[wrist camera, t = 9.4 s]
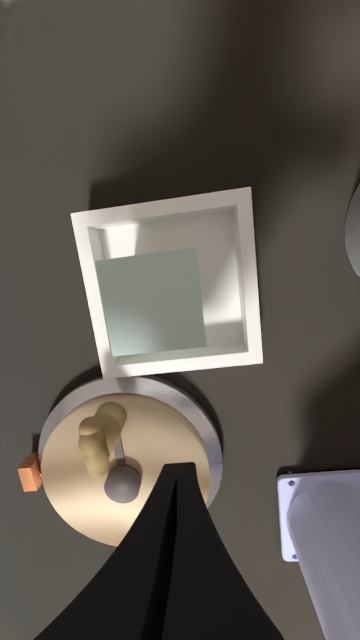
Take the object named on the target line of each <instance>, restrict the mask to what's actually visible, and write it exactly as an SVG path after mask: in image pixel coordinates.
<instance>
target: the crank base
mask: <svg viewBox="0 0 360 640" xmlns="http://www.w3.org/2000/svg"><path fill="white" fill-rule="evenodd" d="M111 393H137V394H141V395H146V396H150V397H153V398H155V399H158V400H160V401H163V402H165V403H167V404H169V405H170V406H172V407H173V408H175V409H176V410H178V411H179V412H180V413H182V414H183V415H184V416H185V417H186V418H187V419H188V420H189V421H190V422H191V423H192V424H193V425H194V427H195V428H196V430H197V431H198V432H199V434H200V436H201V438H202V440H203V442H204V444H205V447H206V450H207V454H208V459H209V469H210V490H209V495H208V499H207V502H206V507H207V508H208V507H209V506H210V504H211V503H212V501H213V500H214V498H215V496H216V494H217V491H218V489H219V486H220V482H221V478H222V470H223V463H222V452H221V446H220V440H219V436H218V433H217V431H216V428H215V426H214V424H213V422H212V420H211V418H210V416H209V415H208V414H207V412H206V411H205V409H204V408H203V407H202V406H201V405H200V404H199V402H198V401H197V400H196V399H195V398H193V397H192V396H191V395H190V394H189V393H187V392H186V391H184V390H183V389H181V388H180V387H178V386H177V385H175V384H173V383H171V382H169V381H167V380H164V379H161V378H158V377H155V376H152V375H139V376H128V377H118V378H108V379H103V375H102V376H99V377H96V378H93V379H91V380H89V381H86V382H84V383H82V384H81V385H79V386H78V387H76V388H75V389H73V390H72V391H71V392H70V393H69V394H67V395H66V396H65V397H64V398H63V399H62V400H61V401H60V402H59V403H58V405H57V406H56V407H55V408H54V409H53V410H52V412H51V413H50V415H49V417H48V418H47V420H46V422H45V424H44V427H43V429H42V432H41V436H40V440H39V449H38V452H32V453H31V454H30V455H29V456H28V457H27V458H26V460H25V461H24V462H23V463H22V464H21V465H20V467H19V468H18V472H19V475H20V479H21V482H22V486H23V489H24V492H26V491H37V490H38V488H39V487H40V485H41V484H42V482H43V481H42V476H41V461H42V455H43V451H44V447H45V445H46V443H47V441H48V438H49V437H50V435H51V434H52V432H53V431H54V429H55V428H56V427H57V426H58V425H59V423H60V422H61V421H62V420H63V419H64V418H65V417H66V415H67V414H68V413H69V412H70V411H72V410H73V409H74V408H75V407H77V406H78V405H80V404H81V403H83V402H85V401H87V400H89V399H92V398H94V397H97V396H101V395H104V394H111Z"/></svg>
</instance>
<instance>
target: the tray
mask: <svg viewBox="0 0 360 640" xmlns="http://www.w3.org/2000/svg"><path fill="white" fill-rule="evenodd" d="M71 218H72V223H73V228H74V233H75V238H76V243H77V248H78V254H79V259H80V264H81V269H82V274H83V279H84V284H85V289H86V294H87V299H88V304H89V309H90V314H91V319H92V324H93V329H94V334H95V339H96V344H97V349H98V354H99V359H100V364H101V370H102V375H103V379H108V378H118V377H128V376H139V375H149V374H159V373H169V372H179V371H189V370H199V369H209V368H219V367H229V366H239V365H249V364H259V363H263V356H262V342H261V327H260V312H259V298H258V283H257V268H256V254H255V239H254V224H253V210H252V195H251V187H245V188H238V189H232V190H225V191H218V192H212V193H205V194H198V195H192V196H185V197H178V198H171V199H165V200H158V201H151V202H145V203H138V204H131V205H124V206H118V207H111V208H104V209H98V210H91V211H84V212H78V213H71ZM193 247H196V256H197V265H198V273H199V282H200V291H201V300H202V308H203V317H204V326H205V335H206V344H207V346H206V347H197V348H188V349H178V350H169V351H160V352H151V353H141V354H132V355H123V356H114V357H113V355H112V350H111V345H110V339H109V334H108V329H107V323H106V318H105V313H104V308H103V302H102V297H101V292H100V287H99V281H98V276H97V271H96V265H95V261H97V260H105V259H112V258H119V257H127V256H134V255H141V254H149V253H156V252H163V251H171V250H178V249H185V248H193Z"/></svg>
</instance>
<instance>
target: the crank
mask: <svg viewBox="0 0 360 640" xmlns="http://www.w3.org/2000/svg"><path fill="white" fill-rule="evenodd" d="M183 462H194V463H195V464H196V470H197V478H198V483H199V487H200V490H201V493H202V496H203V499H204V501H205V504H206V502H207V499H208V495H209V490H210V469H209V459H208V454H207V450H206V447H205V444H204V442H203V440H202V438H201V436H200V434H199V432H198V431H197V430H196V428H195V427H194V425H193V424H192V423H191V422H190V421H189V420H188V419H187V418H186V417H185V416H184V415H183V414H182V413H180V412H179V411H178V410H176V409H175V408H173V407H172V406H170V405H169V404H167V403H165V402H163V401H160V400H158V399H155V398H153V397H150V396H146V395H141V394H137V393H111V394H104V395H101V396H97V397H94V398H92V399H89V400H87V401H85V402H83V403H81V404H80V405H78V406H77V407H75V408H74V409H73V410H72V411H70V412H69V413H68V414H67V415H66V417H65V418H64V419H63V420H62V421H61V422H60V423H59V425H58V426H57V427H56V428H55V429H54V431H53V432H52V434H51V435H50V437H49V438H48V441H47V443H46V445H45V447H44V451H43V455H42V461H41V476H42V481H43V486H44V489H45V491H46V494H47V496H48V498H49V500H50V502H51V504H52V505H53V507H54V508H55V510H56V511H57V512H58V514H59V515H60V516H61V517H62V518H63V519H64V520H65V521H66V522H67V523H68V524H69V525H70V526H72V527H73V528H74V529H76V530H77V531H79V532H80V533H82V534H84V535H85V536H87V537H89V538H92V539H94V540H96V541H99V542H102V543H105V544H108V545H113V546H118V545H119V544H120V542H121V541H122V540H123V538H124V537H125V535H126V534H127V532H128V531H129V529H130V528H131V526H132V524H133V523H134V521H135V519H136V518H137V516H138V514H139V513H140V511H141V509H142V508H143V506H144V504H145V502H146V500H147V498H148V497H149V495H150V493H151V491H152V489H153V487H154V485H155V483H156V481H157V479H158V477H159V474H160V472H161V470H162V467H163V466H164V464H170V463H183Z"/></svg>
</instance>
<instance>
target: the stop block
mask: <svg viewBox="0 0 360 640" xmlns="http://www.w3.org/2000/svg"><path fill="white" fill-rule="evenodd" d="M95 265H96V271H97V276H98V281H99V287H100V292H101V297H102V302H103V308H104V313H105V318H106V323H107V329H108V334H109V339H110V345H111V350H112V355H113V357H114V356H123V355H132V354H141V353H151V352H160V351H169V350H178V349H188V348H197V347H206V346H207V344H206V335H205V326H204V317H203V308H202V300H201V291H200V282H199V273H198V265H197V256H196V247H193V248H185V249H178V250H171V251H163V252H156V253H149V254H141V255H134V256H127V257H119V258H112V259H105V260H97V261H95Z"/></svg>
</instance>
